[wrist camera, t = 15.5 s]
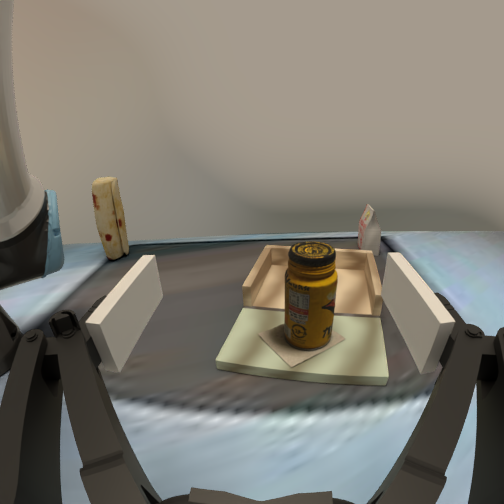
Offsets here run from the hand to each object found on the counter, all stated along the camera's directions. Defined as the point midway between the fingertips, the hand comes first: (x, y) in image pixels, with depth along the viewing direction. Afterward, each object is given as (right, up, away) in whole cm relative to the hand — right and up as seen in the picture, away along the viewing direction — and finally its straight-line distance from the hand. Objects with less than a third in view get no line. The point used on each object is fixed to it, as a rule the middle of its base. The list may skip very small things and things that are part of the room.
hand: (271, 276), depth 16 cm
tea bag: (+25, +2, +49) cm, 55 cm away
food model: (-35, 0, +53) cm, 63 cm away
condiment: (+5, -10, +20) cm, 23 cm away
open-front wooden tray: (+8, -8, +27) cm, 30 cm away
